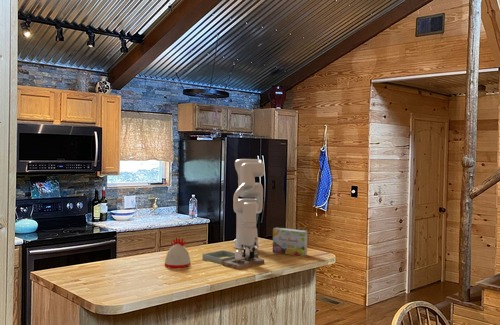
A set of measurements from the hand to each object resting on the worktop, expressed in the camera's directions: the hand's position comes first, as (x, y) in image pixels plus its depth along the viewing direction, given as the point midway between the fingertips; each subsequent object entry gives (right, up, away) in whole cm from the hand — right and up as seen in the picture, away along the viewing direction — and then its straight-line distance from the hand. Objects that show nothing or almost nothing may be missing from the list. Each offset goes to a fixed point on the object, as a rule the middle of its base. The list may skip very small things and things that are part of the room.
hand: (248, 257), depth 267 cm
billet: (0, -2, 0) cm, 2 cm away
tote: (-15, -4, +9) cm, 18 cm away
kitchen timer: (-39, -4, -3) cm, 39 cm away
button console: (-1, -4, +15) cm, 15 cm away
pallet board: (-3, -4, -3) cm, 6 cm away
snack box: (+25, -4, +30) cm, 39 cm away
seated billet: (-6, -3, -6) cm, 9 cm away
